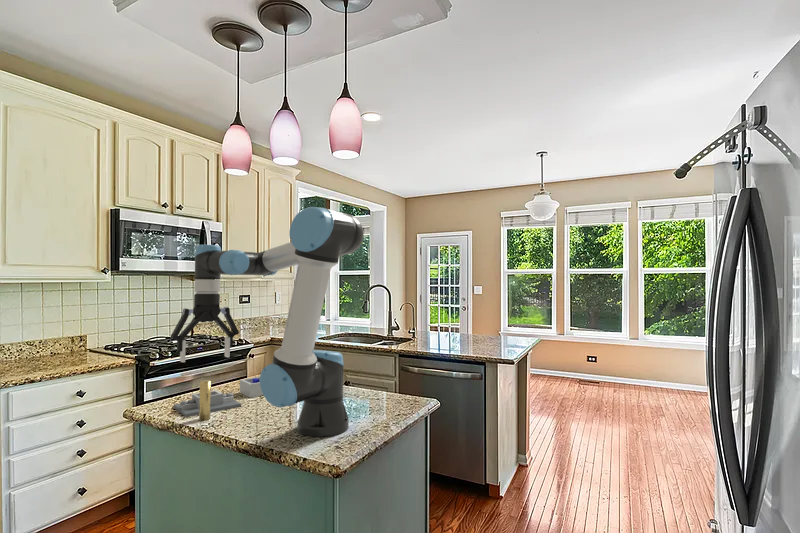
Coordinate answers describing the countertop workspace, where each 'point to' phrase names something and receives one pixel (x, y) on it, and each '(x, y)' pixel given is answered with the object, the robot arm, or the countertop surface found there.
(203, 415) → the pin
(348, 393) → the countertop surface
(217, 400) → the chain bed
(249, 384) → the tray
